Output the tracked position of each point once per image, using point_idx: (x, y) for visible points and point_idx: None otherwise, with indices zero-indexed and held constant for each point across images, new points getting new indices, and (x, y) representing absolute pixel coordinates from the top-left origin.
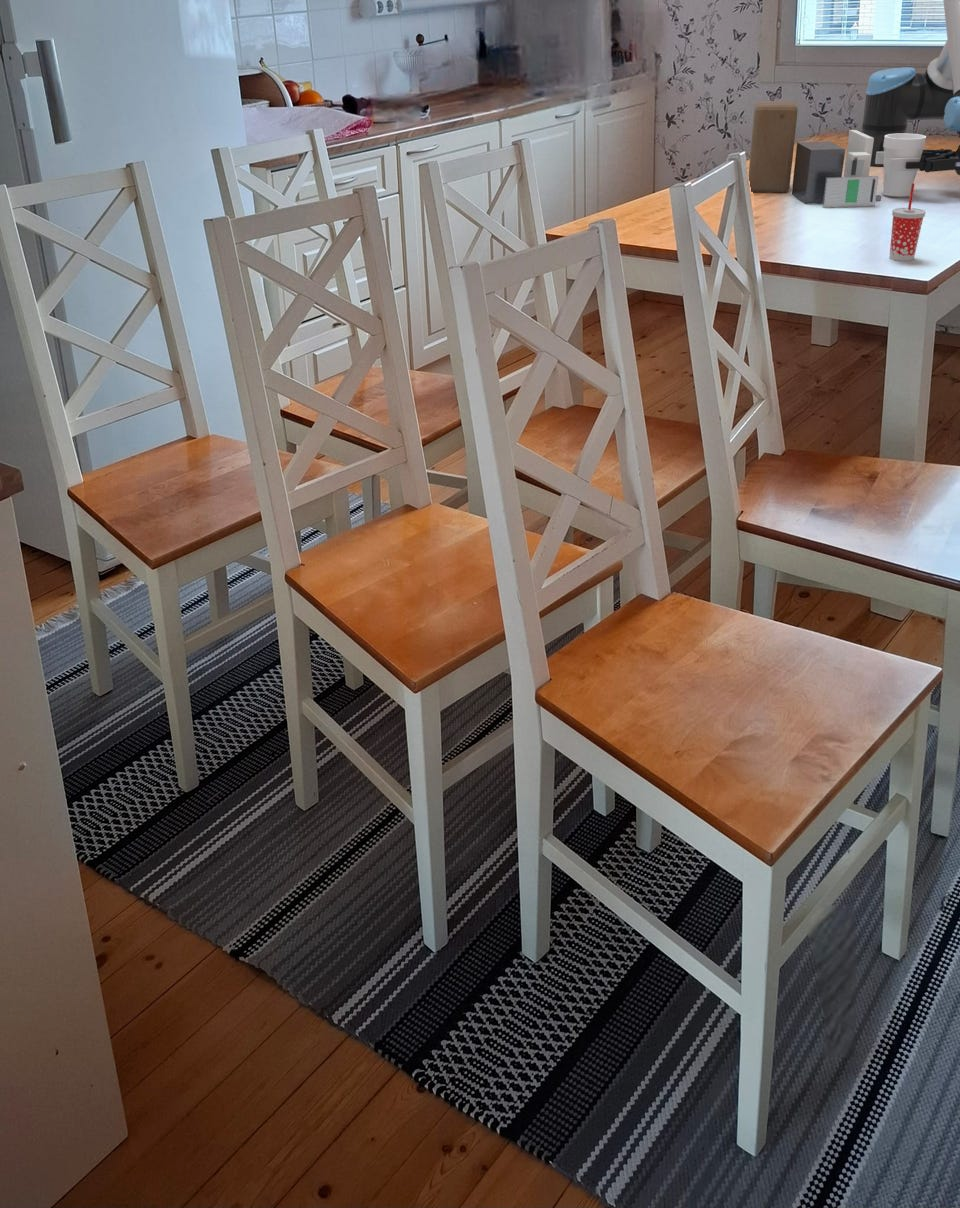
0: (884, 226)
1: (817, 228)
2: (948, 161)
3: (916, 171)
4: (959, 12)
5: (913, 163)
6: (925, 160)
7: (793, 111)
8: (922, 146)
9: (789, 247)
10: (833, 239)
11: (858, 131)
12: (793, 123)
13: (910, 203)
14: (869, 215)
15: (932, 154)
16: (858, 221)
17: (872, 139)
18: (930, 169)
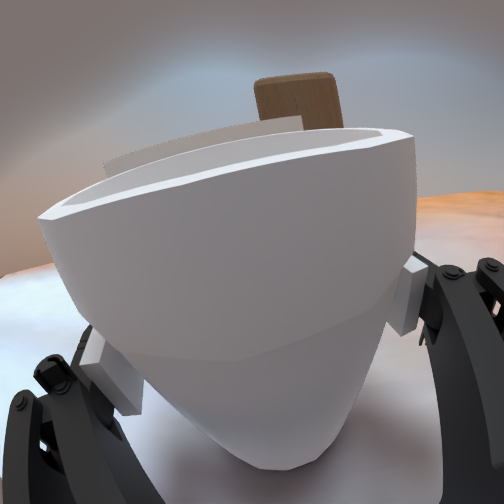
0: (5, 344)
1: (44, 288)
2: None
3: (215, 437)
4: None
5: (80, 350)
6: (52, 398)
7: (254, 89)
8: (81, 307)
9: (16, 279)
10: (8, 300)
11: (263, 120)
12: (259, 109)
13: None
14: (59, 337)
15: (480, 488)
16: (40, 321)
17: (105, 166)
18: (53, 450)
